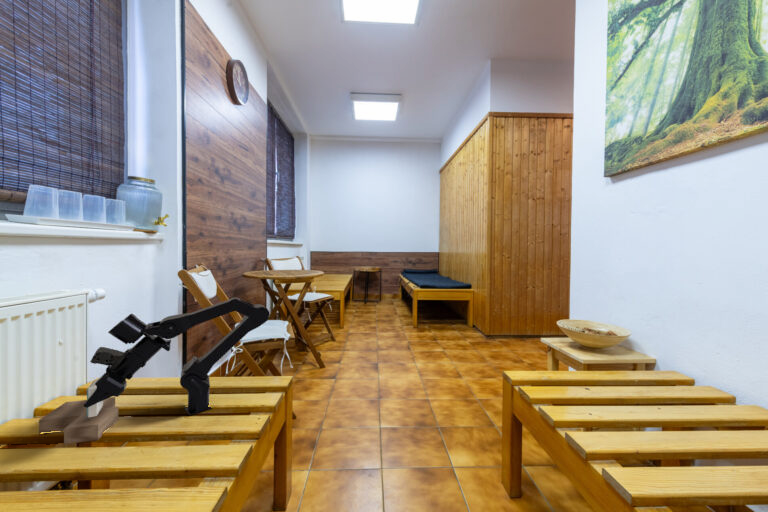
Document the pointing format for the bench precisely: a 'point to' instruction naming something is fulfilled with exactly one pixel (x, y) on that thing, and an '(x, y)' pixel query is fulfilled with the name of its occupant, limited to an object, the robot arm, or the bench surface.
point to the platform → (80, 421)
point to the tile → (96, 407)
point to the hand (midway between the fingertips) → (89, 401)
